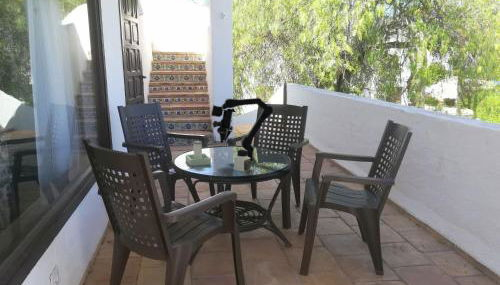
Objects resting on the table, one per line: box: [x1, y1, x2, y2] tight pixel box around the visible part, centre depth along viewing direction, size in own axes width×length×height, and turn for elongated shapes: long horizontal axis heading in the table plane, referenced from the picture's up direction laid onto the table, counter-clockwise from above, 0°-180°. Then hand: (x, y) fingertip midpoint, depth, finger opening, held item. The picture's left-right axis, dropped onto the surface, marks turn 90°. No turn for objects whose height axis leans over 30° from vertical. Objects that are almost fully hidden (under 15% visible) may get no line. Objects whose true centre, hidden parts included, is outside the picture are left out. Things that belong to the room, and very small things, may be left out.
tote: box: [185, 152, 212, 168], centre depth 245 cm, size 15×13×4 cm
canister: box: [193, 140, 203, 159], centre depth 244 cm, size 5×5×13 cm
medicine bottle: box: [233, 148, 252, 173], centre depth 231 cm, size 7×7×12 cm
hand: (223, 141), depth 252 cm, fingers open, 9 cm apart
